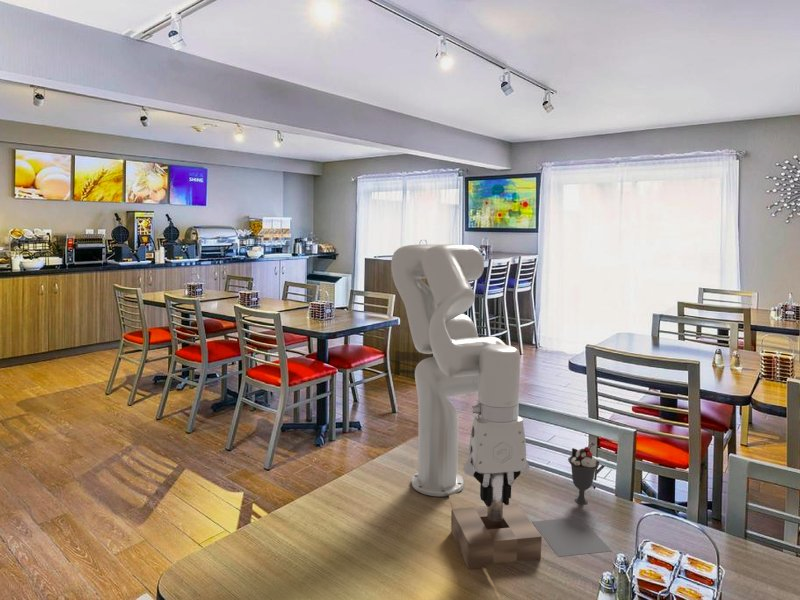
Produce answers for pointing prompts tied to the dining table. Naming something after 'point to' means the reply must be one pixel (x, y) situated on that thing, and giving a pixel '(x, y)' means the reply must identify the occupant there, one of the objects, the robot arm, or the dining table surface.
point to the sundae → (582, 471)
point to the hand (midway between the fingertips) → (495, 501)
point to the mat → (570, 536)
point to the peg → (496, 497)
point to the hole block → (494, 536)
